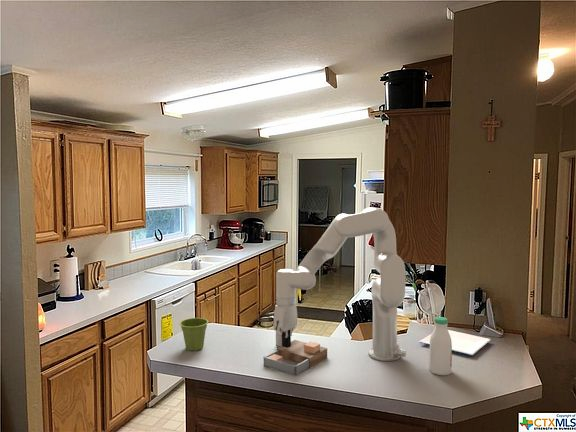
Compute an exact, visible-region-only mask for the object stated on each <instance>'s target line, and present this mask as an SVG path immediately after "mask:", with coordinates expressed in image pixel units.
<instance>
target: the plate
mask: <svg viewBox="0 0 576 432" xmlns="http://www.w3.org/2000/svg"><path fill="white" fill-rule="evenodd" d="M448 332H449V334H450V337H451V341H452V352H456V353H461V354H465V355H468V356H474V355H475V354H476V353H477V352H478V351H480V349H481V348H483V347H484V346H486V345H487V344H488V343H490V341H491V338H487V337H484V336H483V337H482V336H478V335H473V334H469V333H464V332H460V331H454V330H452V329H451V330H450V329H448ZM431 334H432V333H431ZM431 334H429V335H428V336H426V337H424V338H423V339H421V340H419V341H418V342H420V344H424V345H429V346H430V337H431Z"/></svg>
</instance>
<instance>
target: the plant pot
mask: <svg viewBox="0 0 576 432" xmlns="http://www.w3.org/2000/svg"><path fill="white" fill-rule="evenodd" d="M208 323H209V320H208V319H206V318H202V317H190V318H186V319H185V318H184V319H183V320H181V321H180V322H179V325H180V328H181V330H182V334H183V339H184V341H183V342H184V345H185V349H186V350H187V351H189V350H190V351H196V350H197V351H199V350H202V349H203V348H204V345H205V338H206V337H205V336H206V330H207V325H208Z"/></svg>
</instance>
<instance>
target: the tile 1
mask: <svg viewBox="0 0 576 432" xmlns="http://www.w3.org/2000/svg"><path fill="white" fill-rule="evenodd" d="M268 358H271V359H275V360H278V361H281V362H283V356H279V355H276V354H273V355H271V356H269V357H268Z"/></svg>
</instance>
